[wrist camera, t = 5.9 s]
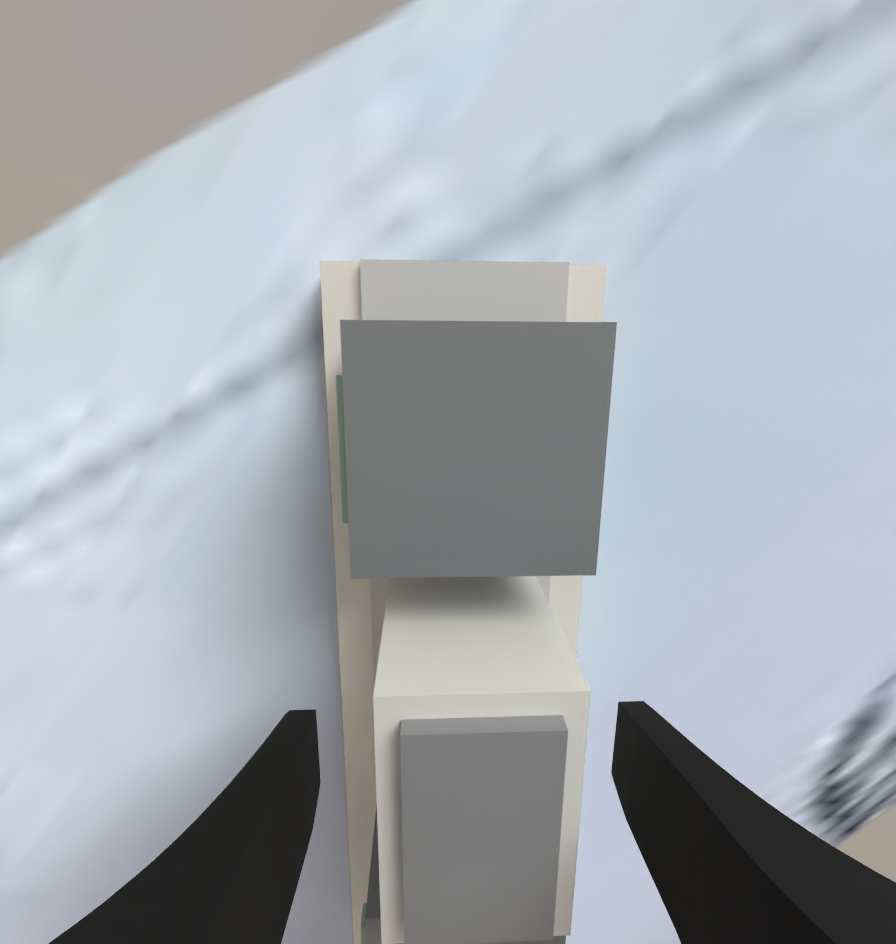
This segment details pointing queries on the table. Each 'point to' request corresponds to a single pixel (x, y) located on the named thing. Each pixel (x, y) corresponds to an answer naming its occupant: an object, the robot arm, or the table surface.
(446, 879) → the module block
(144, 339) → the table surface
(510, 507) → the board
